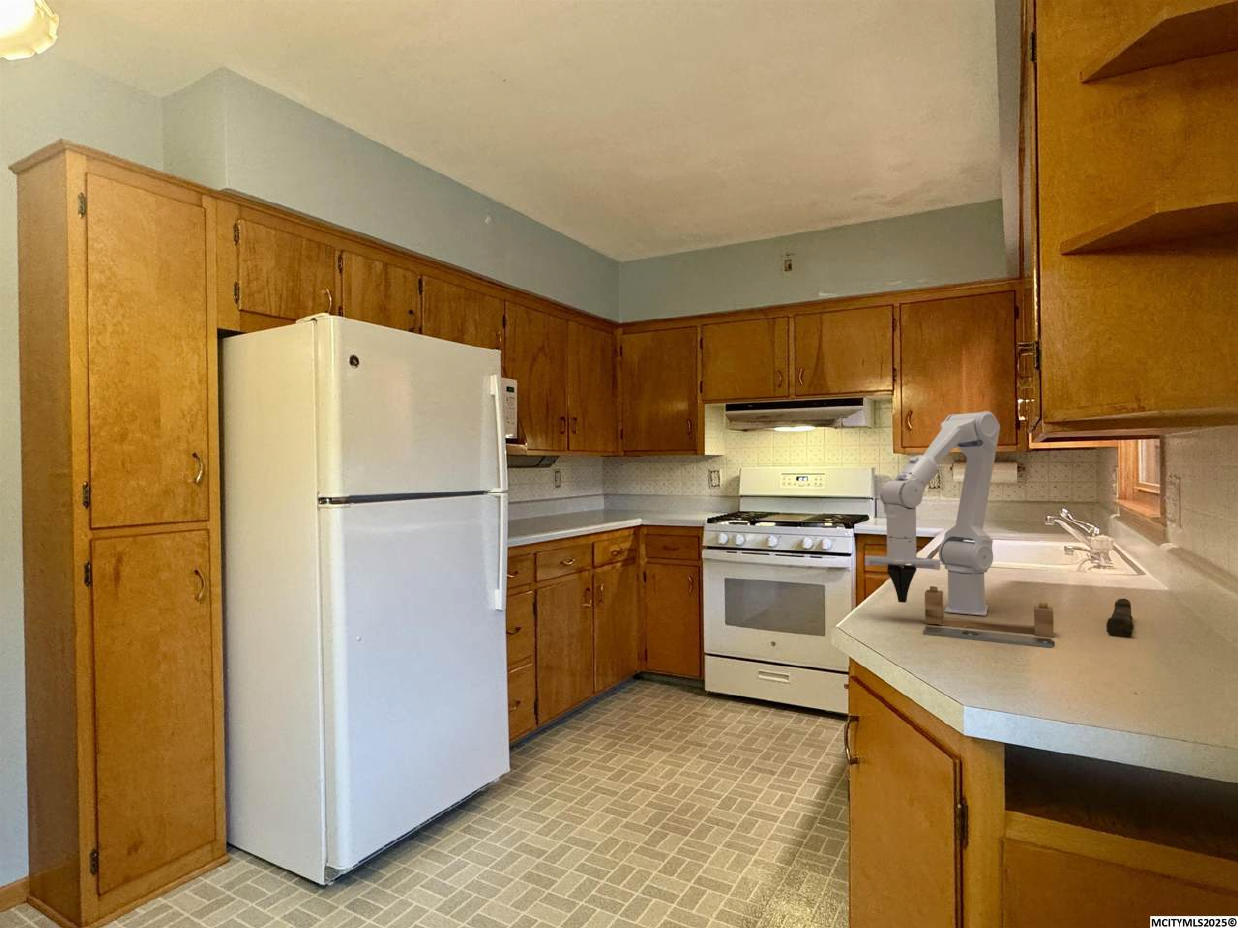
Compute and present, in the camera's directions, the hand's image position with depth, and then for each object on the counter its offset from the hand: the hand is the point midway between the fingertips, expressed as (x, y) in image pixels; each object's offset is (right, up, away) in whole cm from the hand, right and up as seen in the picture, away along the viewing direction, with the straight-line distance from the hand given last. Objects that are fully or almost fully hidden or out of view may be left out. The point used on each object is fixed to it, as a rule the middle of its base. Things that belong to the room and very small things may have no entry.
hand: (902, 601), depth 139 cm
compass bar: (+13, -4, -8) cm, 16 cm away
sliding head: (+5, -4, -3) cm, 7 cm away
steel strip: (+9, -4, -15) cm, 18 cm away
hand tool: (+39, -4, -8) cm, 40 cm away
